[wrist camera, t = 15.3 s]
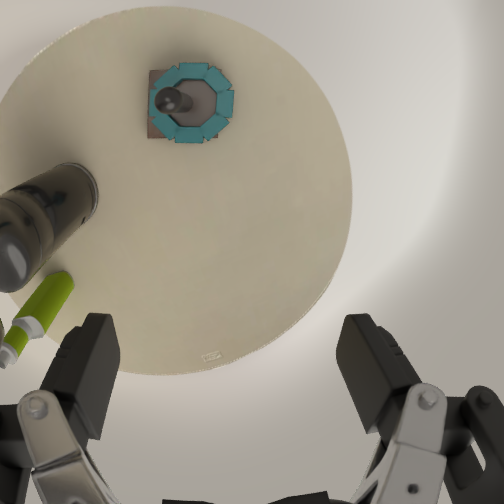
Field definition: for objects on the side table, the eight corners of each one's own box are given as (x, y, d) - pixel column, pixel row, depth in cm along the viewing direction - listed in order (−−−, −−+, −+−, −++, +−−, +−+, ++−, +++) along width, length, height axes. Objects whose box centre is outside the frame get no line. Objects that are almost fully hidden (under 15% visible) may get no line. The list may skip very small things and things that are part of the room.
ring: (151, 141, 37) (148, 142, 36) (155, 65, 33) (152, 63, 31) (229, 142, 39) (230, 144, 37) (235, 66, 34) (236, 64, 33)
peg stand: (149, 137, 38) (116, 152, 25) (151, 71, 35) (118, 54, 21) (217, 137, 40) (216, 151, 26) (221, 70, 36) (222, 50, 22)
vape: (42, 276, 45) (-16, 353, 27) (67, 269, 45) (11, 350, 27) (51, 295, 47) (0, 375, 29) (77, 288, 47) (27, 373, 29)
